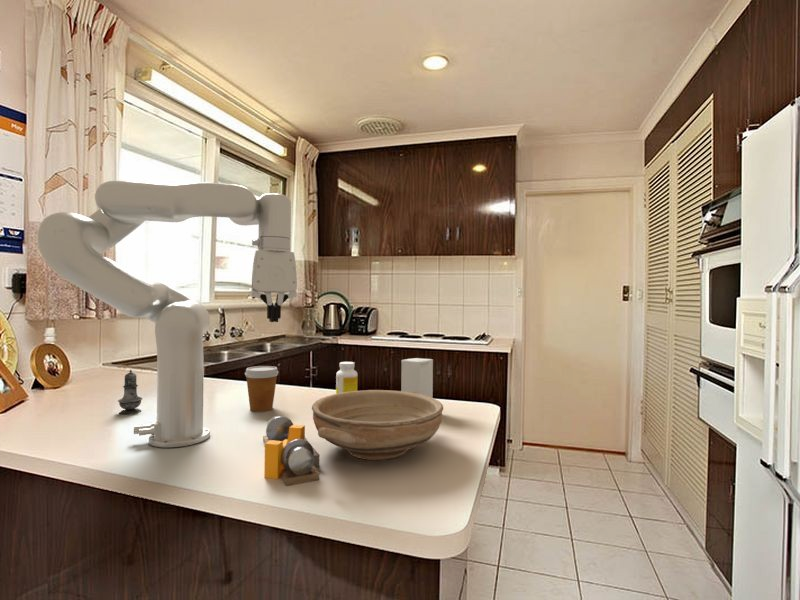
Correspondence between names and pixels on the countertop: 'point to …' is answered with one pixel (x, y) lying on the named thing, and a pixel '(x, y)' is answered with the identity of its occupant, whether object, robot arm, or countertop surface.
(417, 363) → the skincare box
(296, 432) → the pipe clamp
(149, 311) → the robot arm
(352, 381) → the supplement bottle
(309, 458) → the pipe run
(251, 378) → the disposable coffee cup
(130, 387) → the salt shaker
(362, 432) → the ceramic bowl
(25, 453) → the countertop surface
